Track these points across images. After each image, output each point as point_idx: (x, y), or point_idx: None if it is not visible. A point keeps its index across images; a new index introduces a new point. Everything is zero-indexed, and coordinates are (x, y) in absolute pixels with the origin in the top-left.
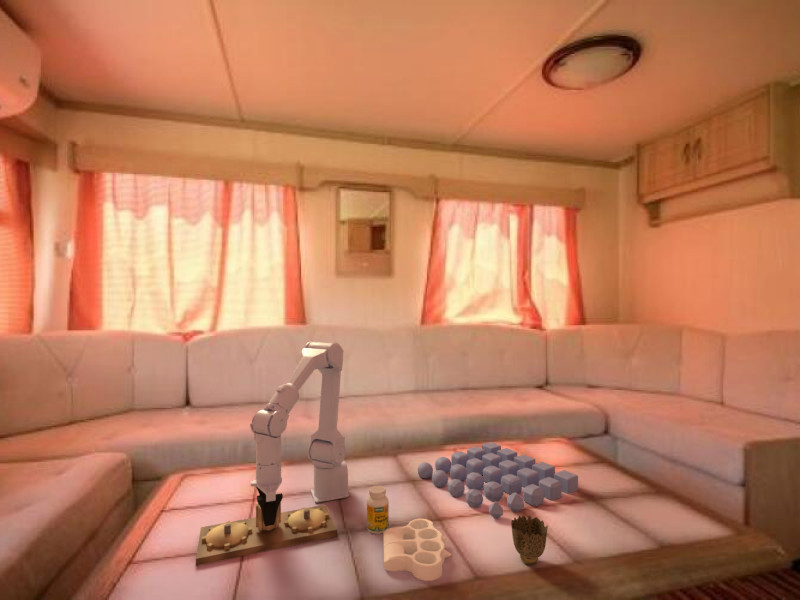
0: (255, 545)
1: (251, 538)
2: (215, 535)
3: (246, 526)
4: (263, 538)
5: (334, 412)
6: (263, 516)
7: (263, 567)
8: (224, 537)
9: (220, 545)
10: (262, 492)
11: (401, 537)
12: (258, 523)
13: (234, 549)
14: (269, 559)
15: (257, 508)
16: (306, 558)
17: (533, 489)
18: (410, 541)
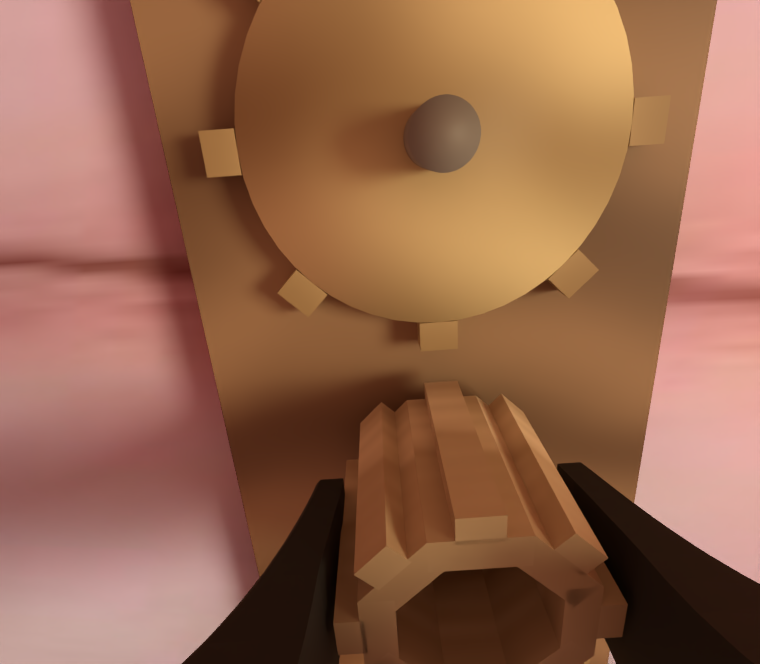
0: (226, 370)
1: (332, 339)
2: (425, 6)
3: (485, 305)
4: (308, 418)
5: None
6: (280, 548)
7: (68, 398)
8: (355, 114)
9: (241, 87)
10: (693, 657)
11: None
12: (408, 423)
13: (197, 219)
14: (147, 428)
15: (447, 509)
16: (130, 589)
17: None
18: None
